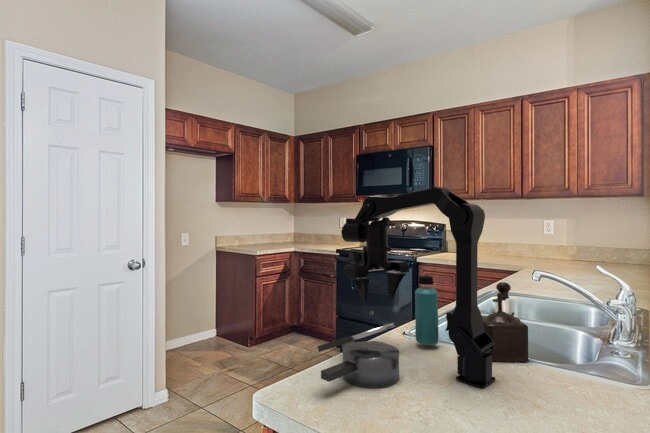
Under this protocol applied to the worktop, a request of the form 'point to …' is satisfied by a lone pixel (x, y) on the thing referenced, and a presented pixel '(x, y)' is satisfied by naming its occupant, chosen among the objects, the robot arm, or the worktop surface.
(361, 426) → the worktop surface
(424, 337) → the beverage bottle
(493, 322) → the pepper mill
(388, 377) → the pot
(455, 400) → the worktop surface
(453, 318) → the robot arm
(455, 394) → the worktop surface
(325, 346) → the lid
